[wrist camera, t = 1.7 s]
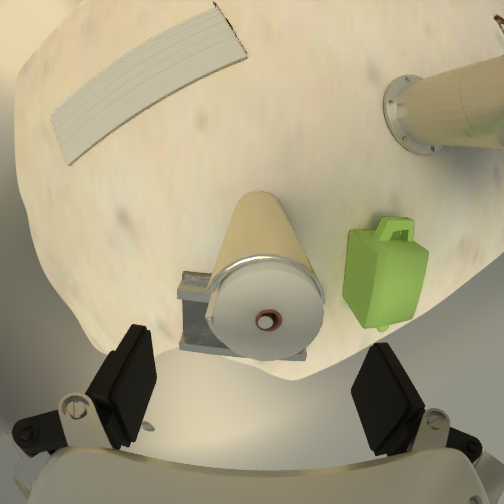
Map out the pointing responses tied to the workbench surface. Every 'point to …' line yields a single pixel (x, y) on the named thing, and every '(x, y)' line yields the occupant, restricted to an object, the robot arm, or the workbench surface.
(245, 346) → the tan metal cylinder
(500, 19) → the brown flat irregular piece
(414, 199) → the workbench surface
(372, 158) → the workbench surface
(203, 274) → the floor track
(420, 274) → the lime handled box
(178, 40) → the baseboard
